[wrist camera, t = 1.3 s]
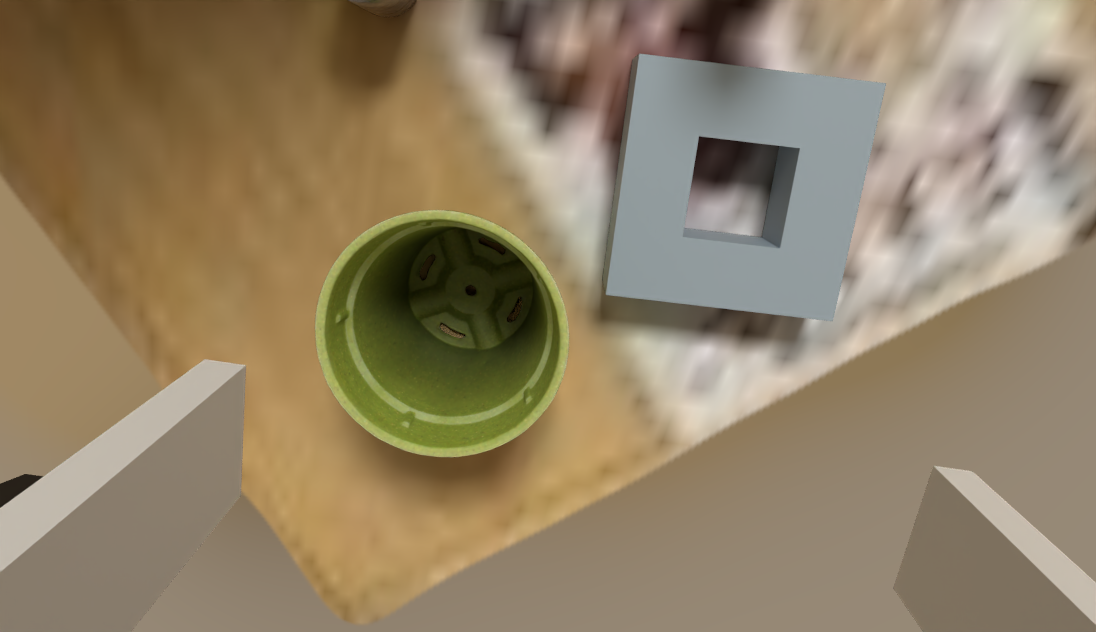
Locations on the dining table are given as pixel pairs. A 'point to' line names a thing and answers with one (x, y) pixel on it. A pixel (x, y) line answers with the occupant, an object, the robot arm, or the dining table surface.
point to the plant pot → (441, 334)
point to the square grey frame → (795, 200)
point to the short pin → (385, 6)
